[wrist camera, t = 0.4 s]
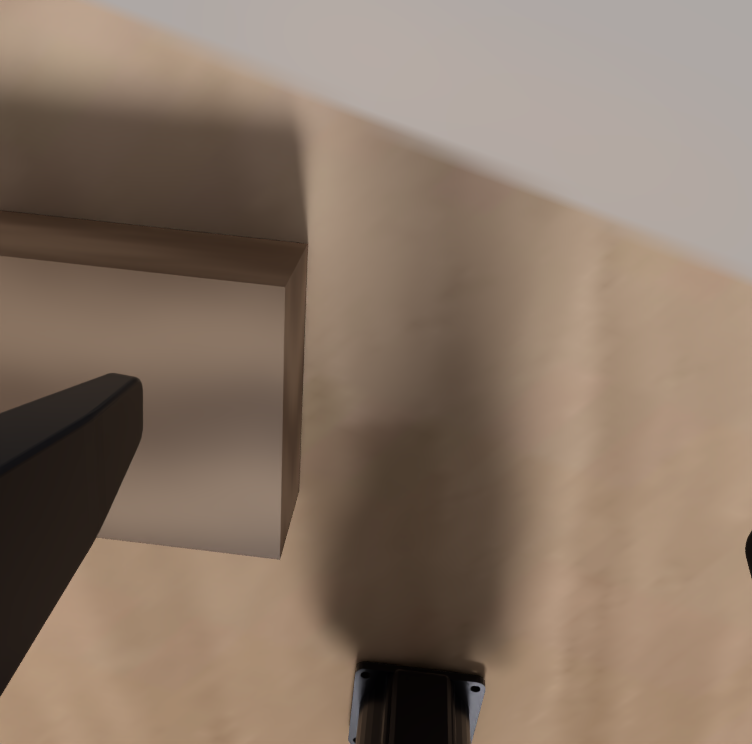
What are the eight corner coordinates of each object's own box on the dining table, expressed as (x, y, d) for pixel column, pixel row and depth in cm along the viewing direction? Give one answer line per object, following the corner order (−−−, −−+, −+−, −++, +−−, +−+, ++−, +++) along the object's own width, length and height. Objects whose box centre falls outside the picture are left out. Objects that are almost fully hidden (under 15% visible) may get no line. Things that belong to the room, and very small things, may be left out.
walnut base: (299, 491, 28) (280, 559, 25) (46, 461, 29) (-7, 524, 25) (308, 243, 23) (285, 287, 19) (-4, 210, 23) (-81, 247, 20)
